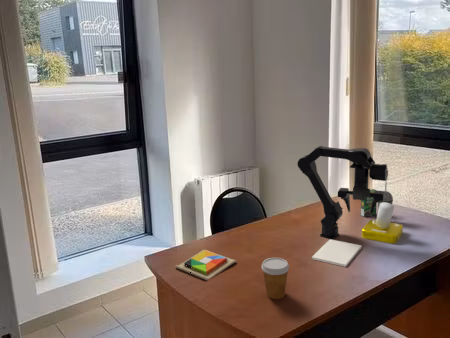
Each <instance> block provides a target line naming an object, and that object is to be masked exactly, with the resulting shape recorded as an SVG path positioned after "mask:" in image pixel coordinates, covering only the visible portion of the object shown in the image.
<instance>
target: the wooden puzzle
mask: <svg viewBox="0 0 450 338" xmlns="http://www.w3.org/2000/svg"><path fill="white" fill-rule="evenodd" d="M235 263H237V260H236V259H234V258H233V259H232V258H229V257H227V256H223V255H222V254H217V252H216V253H215V252H212V251H210V250H207V249H202V250H201V251H199V252H198V253H196V254H194V255H193V256H191V257H189V258H188V259H186V260H185V261H183V262H182V263H180V264H179V265H178V264H176V265H175V268H176V269H179V270H180V271H184V272H186V273H188V274H190V275H193V276H195V277H198V278H200V279H202V280H205V281H209V280H210V279H212V278H213V277H215V276H217V275H218V274H220V273H221V272H223V271H224V270H226V269H227V268H228V267H230V266H231V265H233V264H235ZM186 265H187V266H186ZM176 266H177V267H176ZM178 267H179V268H178ZM191 267H192V268H191ZM193 268H194V269H193ZM183 269H184V270H183ZM188 271H189V272H188ZM190 272H191V273H190ZM195 274H196V275H195Z"/></svg>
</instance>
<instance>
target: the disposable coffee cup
mask: <svg viewBox="0 0 450 338" xmlns="http://www.w3.org/2000/svg"><path fill="white" fill-rule="evenodd" d="M261 270H262V273H263V279H264V285H265V294H266V296H267V298H268V299H269V298H270V299H272V300H280V299H283V298H284V297H285V295H286V286H287V279H288V271H289V270H290V265H289V263H288V261H287V260H286V259H283V258H281V257H269V258H265V259H264V260H263V262H262V264H261Z"/></svg>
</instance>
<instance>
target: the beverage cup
mask: <svg viewBox="0 0 450 338" xmlns="http://www.w3.org/2000/svg"><path fill="white" fill-rule="evenodd" d="M384 182H385V183H384V185H385V186H384V190H383V191H384V200H383V201H380V202H377V207H378V209H377V211H378V210H379V206H380V203H383V202H386V203H390V204H392V205H393V202H394V198H393V197H394V196H393V195H392V193H391V192H390V191H387V181H384Z"/></svg>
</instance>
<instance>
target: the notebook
mask: <svg viewBox="0 0 450 338" xmlns="http://www.w3.org/2000/svg"><path fill="white" fill-rule="evenodd" d="M361 249H362V245H360V244H357V243H350V242H346V241H341V240H335V239H329V240H327V241H326V242H325V243H324V245H322V246H321V247H320V248H319V249H318V250H317V251H316V252H315V253H314V255H312V256H311V259H312V260H314V261H317V262H321V263H322V262H323V263H326V264H332V265H336V266H340V267H345V268H346V267H348V265H349V263H350V262H351V261H352V260H353V259H354V258H355V256H356V255H357V254H358V253H359V251H360V250H361Z"/></svg>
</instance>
